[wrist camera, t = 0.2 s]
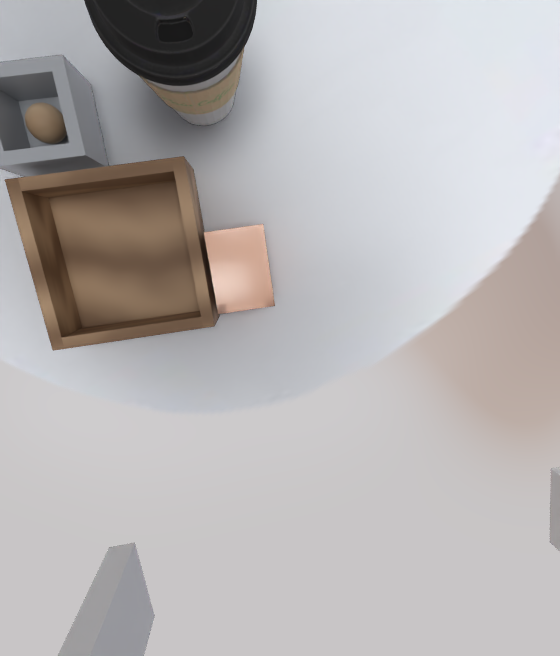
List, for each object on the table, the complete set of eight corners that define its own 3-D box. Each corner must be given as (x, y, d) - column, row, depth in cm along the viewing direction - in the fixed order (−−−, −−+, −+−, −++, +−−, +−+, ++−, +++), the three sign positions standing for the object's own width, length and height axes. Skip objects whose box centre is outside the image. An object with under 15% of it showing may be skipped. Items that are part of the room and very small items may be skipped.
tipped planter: (210, 234, 36) (203, 232, 31) (261, 227, 36) (263, 224, 31) (222, 305, 37) (218, 314, 33) (271, 298, 38) (274, 305, 33)
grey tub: (8, 93, 32) (-35, 65, 27) (90, 83, 33) (62, 54, 28) (31, 178, 34) (-6, 166, 29) (109, 168, 34) (85, 155, 29)
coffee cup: (193, 167, 35) (150, 108, 20) (125, 73, 33) (22, -71, 18) (275, 105, 34) (293, -4, 19) (211, 4, 32) (178, -201, 17)
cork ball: (33, 112, 32) (11, 98, 29) (68, 108, 32) (50, 94, 29) (43, 150, 33) (22, 140, 30) (77, 145, 33) (60, 135, 30)
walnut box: (40, 189, 34) (4, 179, 29) (193, 169, 35) (183, 156, 30) (78, 337, 37) (52, 350, 32) (219, 316, 38) (214, 326, 33)
